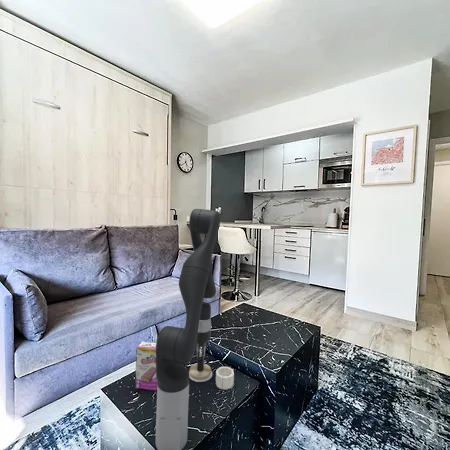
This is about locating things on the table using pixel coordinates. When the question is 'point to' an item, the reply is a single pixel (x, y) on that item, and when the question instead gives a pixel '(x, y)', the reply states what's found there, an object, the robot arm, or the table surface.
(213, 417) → the table surface
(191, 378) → the white round disc
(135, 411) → the table surface
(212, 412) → the table surface
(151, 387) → the candy bar box
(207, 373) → the lid
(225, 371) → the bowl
